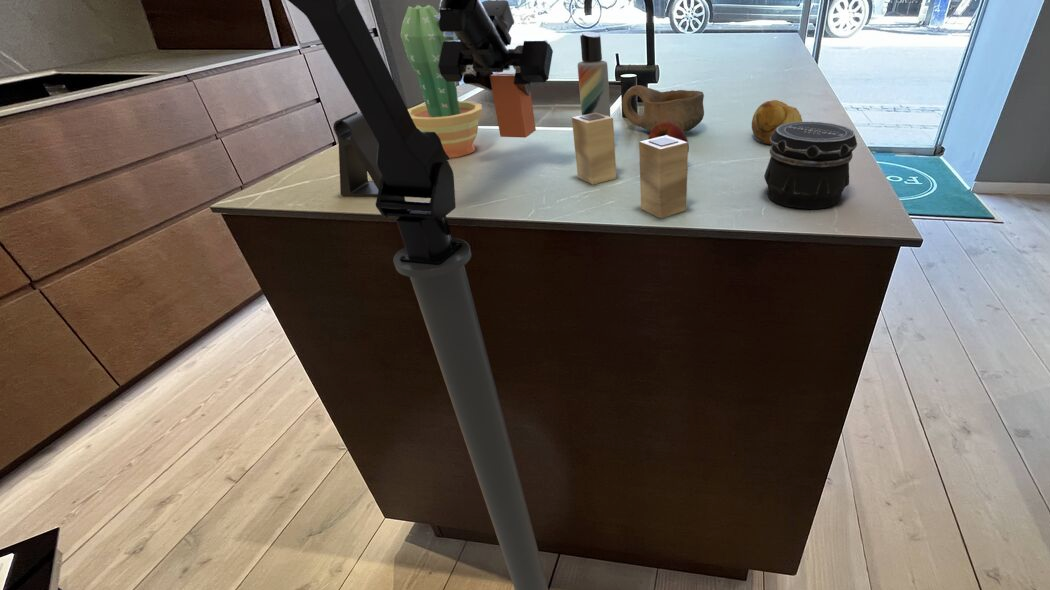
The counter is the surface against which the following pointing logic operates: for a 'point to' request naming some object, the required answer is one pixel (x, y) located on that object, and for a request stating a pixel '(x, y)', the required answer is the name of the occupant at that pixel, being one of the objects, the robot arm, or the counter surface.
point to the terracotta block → (512, 106)
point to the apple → (668, 131)
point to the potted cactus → (437, 85)
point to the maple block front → (663, 175)
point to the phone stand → (357, 156)
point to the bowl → (665, 107)
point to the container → (809, 164)
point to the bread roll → (772, 118)
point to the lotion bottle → (593, 76)
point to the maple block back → (594, 147)
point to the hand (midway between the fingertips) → (515, 93)
